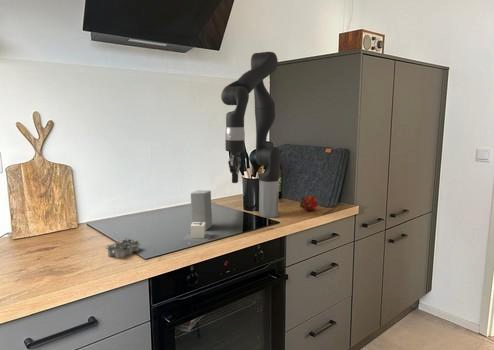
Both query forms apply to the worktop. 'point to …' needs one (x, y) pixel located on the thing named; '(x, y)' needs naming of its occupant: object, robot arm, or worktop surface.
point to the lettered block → (198, 230)
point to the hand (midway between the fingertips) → (235, 182)
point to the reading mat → (207, 236)
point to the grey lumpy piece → (123, 248)
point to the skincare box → (201, 207)
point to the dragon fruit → (308, 203)
